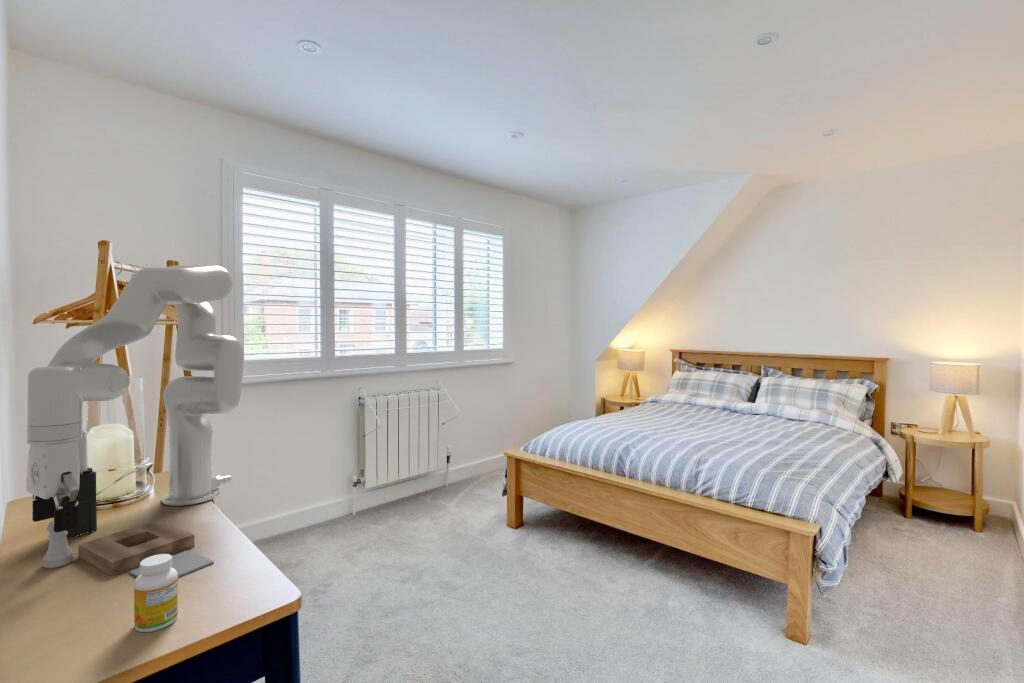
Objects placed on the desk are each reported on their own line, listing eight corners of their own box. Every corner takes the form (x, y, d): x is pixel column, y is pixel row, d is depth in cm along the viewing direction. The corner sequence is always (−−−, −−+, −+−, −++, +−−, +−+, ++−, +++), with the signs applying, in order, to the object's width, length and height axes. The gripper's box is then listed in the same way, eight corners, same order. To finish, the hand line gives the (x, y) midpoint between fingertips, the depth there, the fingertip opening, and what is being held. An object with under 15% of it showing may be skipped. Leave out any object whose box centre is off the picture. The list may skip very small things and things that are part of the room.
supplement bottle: (135, 619, 76) (134, 557, 76) (177, 608, 79) (177, 548, 79) (133, 637, 72) (132, 571, 72) (178, 625, 75) (177, 561, 75)
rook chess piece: (54, 570, 91) (54, 527, 91) (35, 567, 92) (34, 525, 91) (80, 559, 95) (79, 518, 95) (61, 556, 96) (61, 516, 96)
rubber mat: (188, 552, 99) (188, 550, 99) (213, 563, 94) (213, 561, 94) (129, 573, 90) (129, 571, 90) (154, 586, 86) (154, 584, 86)
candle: (68, 539, 104) (66, 420, 103) (59, 533, 106) (57, 417, 106) (98, 530, 108) (97, 416, 107) (89, 525, 111) (87, 414, 110)
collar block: (159, 531, 108) (158, 520, 108) (194, 546, 101) (194, 534, 101) (78, 557, 96) (78, 544, 96) (112, 576, 89) (112, 562, 89)
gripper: (10, 431, 93) (9, 521, 94) (47, 441, 85) (46, 541, 85) (61, 425, 100) (61, 510, 100) (101, 434, 91) (100, 527, 91)
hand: (54, 524), depth 93 cm, fingers open, 9 cm apart
